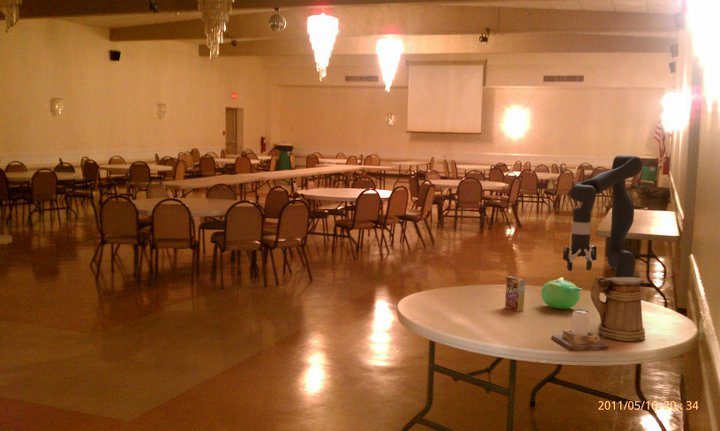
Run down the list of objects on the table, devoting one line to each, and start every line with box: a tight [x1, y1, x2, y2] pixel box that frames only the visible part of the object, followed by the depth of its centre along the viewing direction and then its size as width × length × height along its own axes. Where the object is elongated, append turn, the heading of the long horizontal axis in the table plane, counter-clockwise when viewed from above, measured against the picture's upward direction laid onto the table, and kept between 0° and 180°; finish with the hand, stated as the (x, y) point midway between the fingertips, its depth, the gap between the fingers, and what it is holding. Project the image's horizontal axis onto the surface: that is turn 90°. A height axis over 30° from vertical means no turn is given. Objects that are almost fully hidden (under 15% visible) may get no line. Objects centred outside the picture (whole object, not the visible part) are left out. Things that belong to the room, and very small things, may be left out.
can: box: [570, 308, 590, 336], centre depth 278 cm, size 6×6×12 cm
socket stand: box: [551, 329, 609, 351], centre depth 279 cm, size 16×16×4 cm
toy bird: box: [540, 276, 583, 310], centre depth 337 cm, size 18×17×15 cm
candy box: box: [504, 275, 526, 312], centre depth 331 cm, size 9×4×15 cm, turn 31°
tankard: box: [590, 276, 646, 342], centre depth 292 cm, size 18×24×25 cm
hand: (579, 270), depth 295 cm, fingers open, 8 cm apart
